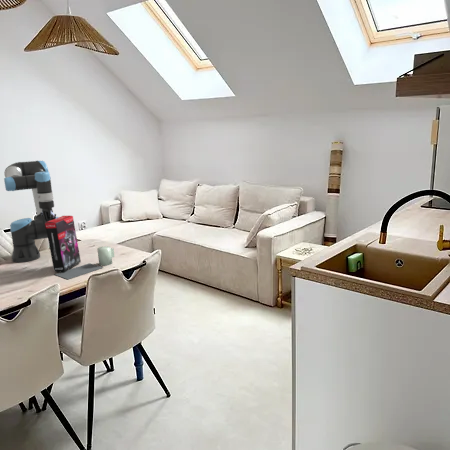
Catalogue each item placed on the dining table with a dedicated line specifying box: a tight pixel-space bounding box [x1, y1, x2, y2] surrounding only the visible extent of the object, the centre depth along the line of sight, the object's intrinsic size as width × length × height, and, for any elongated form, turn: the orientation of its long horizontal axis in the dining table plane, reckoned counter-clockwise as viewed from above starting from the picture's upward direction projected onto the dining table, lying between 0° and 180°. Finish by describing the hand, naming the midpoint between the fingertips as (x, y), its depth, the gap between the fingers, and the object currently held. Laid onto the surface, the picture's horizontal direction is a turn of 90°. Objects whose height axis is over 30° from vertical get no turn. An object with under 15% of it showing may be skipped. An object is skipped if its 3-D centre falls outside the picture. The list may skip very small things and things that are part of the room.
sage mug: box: [96, 245, 115, 267], centre depth 234 cm, size 7×9×9 cm
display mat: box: [54, 262, 104, 281], centre depth 223 cm, size 13×21×1 cm, turn 141°
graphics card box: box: [45, 215, 82, 273], centre depth 226 cm, size 17×7×27 cm, turn 169°
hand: (52, 242), depth 234 cm, fingers closed
